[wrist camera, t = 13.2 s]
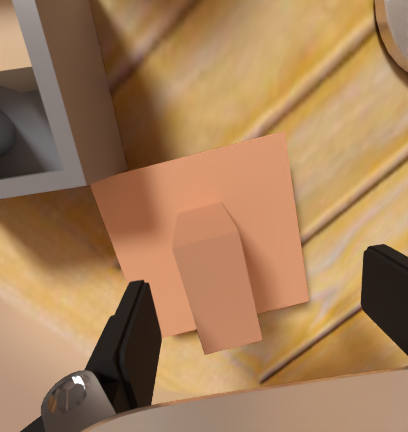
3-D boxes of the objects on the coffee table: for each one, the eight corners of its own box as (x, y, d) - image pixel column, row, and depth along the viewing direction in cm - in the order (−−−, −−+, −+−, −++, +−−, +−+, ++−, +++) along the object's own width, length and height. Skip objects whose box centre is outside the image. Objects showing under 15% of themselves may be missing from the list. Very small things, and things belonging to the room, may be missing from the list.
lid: (276, 132, 17) (341, 121, 10) (301, 290, 20) (361, 368, 13) (96, 178, 17) (29, 201, 10) (151, 328, 20) (132, 425, 13)
